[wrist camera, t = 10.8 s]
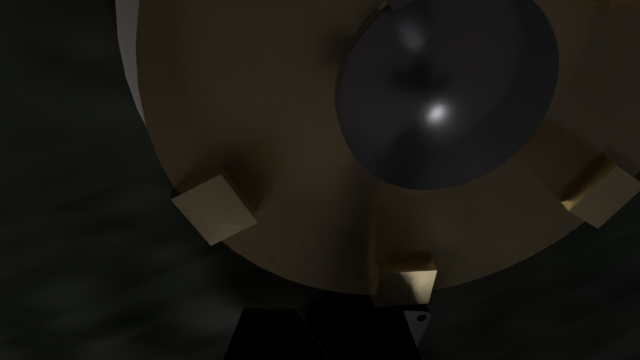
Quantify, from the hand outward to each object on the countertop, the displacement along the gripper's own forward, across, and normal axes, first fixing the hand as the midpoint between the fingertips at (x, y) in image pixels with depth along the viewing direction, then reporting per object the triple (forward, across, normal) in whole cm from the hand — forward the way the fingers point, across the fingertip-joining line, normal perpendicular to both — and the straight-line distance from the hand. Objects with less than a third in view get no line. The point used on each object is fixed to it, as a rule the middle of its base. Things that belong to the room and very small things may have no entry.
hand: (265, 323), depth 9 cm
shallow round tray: (+10, -5, -2) cm, 11 cm away
